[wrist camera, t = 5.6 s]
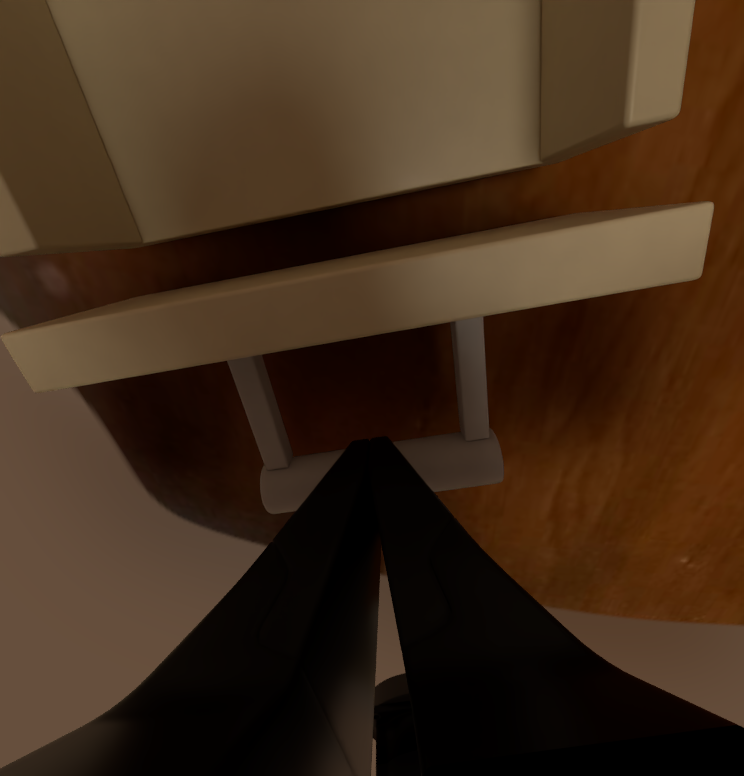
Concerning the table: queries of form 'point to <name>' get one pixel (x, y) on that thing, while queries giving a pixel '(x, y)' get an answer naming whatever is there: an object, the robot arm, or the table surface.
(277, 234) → the table surface
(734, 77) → the table surface
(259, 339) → the drawer
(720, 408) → the table surface
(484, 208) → the table surface
